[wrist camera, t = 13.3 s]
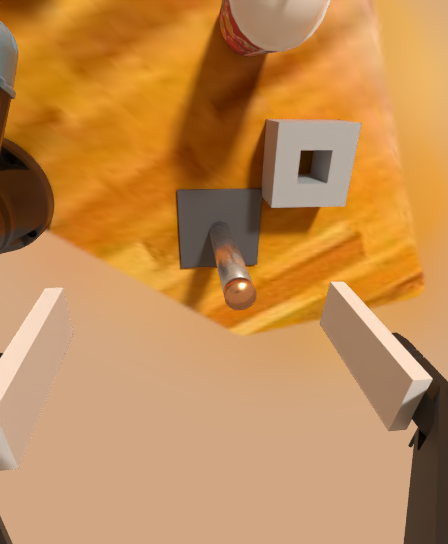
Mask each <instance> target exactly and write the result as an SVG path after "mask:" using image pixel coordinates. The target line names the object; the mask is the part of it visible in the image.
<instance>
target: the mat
mask: <svg viewBox="0 0 448 544" xmlns="http://www.w3.org/2000/svg"><path fill="white" fill-rule="evenodd" d="M177 196H178V215H179V233H180V252H181V268H189V267H212V266H217V264H216V259H215V255H214V251H213V247H212V243H211V238H210V234H209V230H210V227H211V225H212V224H214V223H215V222H218V221H222V222H225V223H227V224H228V225H229V227H230V229H231V232H232V234H233V236H234V239H235V241H236V244H237V246H238V249H239V251H240V254H241V256H242V259H243V261H244V263H245V265H257V256H258V243H259V229H260V215H261V202H262V189H261V188H258V189H194V190H177Z"/></svg>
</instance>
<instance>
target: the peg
mask: <svg viewBox="0 0 448 544" xmlns="http://www.w3.org/2000/svg"><path fill="white" fill-rule="evenodd" d="M209 234H210V238H211V243H212V247H213V251H214V255H215V259H216V264H217V268H218V272H219V276H220V280H221V285H222V289H223V293H224V297H225V301H226V304H227V305H228V306H229V307H230V308H232V309H235V310H244V309H247V308H249V307H250V306H251V305H252V304H253V303H254V302H255V300H256V291H255V288H254V286H253V283H252V281H251V278H250V276H249V273H248V271H247V268H246V266H245V263H244V261H243V259H242V256H241V254H240V251H239V249H238V246H237V244H236V241H235V239H234V236H233V234H232V232H231V229H230V227H229V225H228V224H227V223H225V222H222V221H218V222H215V223H214V224H212V225H211V227H210V230H209Z"/></svg>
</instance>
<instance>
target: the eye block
mask: <svg viewBox="0 0 448 544" xmlns="http://www.w3.org/2000/svg"><path fill="white" fill-rule="evenodd" d="M361 124H362V123H357V122H350V121H343V120H296V119H266V132H265V146H264V160H263V174H262V188H261V189H262V197H263V198H264V200H265V201H266V202H267V203H268V204H269V206H270V207H271V208H286V207H330V206H345V203H346V198H347V193H348V188H349V183H350V178H351V173H352V169H353V164H354V159H355V154H356V149H357V144H358V139H359V134H360V129H361ZM301 150H314V151H313V158H312V165H311V172H310V174H298V170H299V162H300V154H301Z"/></svg>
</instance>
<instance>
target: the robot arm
mask: <svg viewBox="0 0 448 544" xmlns="http://www.w3.org/2000/svg"><path fill="white" fill-rule="evenodd" d="M17 61H18V47H17V44H16V41H15V39H14V37H13V35H12V33H11V32H10V31H9V29H8V28H7V27H6V26H5V25H4V24H3V23H2V22H1V21H0V254H1V253H6V252H10V251H14V250H18V249H21V248H23V247H25V246H27V245H29V244H30V243H32V242H33V241H34V240H36V239H37V238H38V237H39V236H40V235H41V234H42V233H43V232H44V231H45V229H46V228H47V227H48V225H49V223H50V221H51V218H52V215H53V209H54V199H53V193H52V189H51V186H50V183H49V181H48V179H47V177H46V175H45V173H44V172H43V170H42V169H41V167H40V166H39V165H38V164H37V162H36V161H35V160H34V159H33V158H32V157H31V156H30V155H29V154H28V153H27V152H26V151H24V150H23V149H22V148H21V147H19V146H18V145H16V144H15V143H13V142H11V141H9V140H8V139H6V138H3V136H4V132H5V127H6V122H7V117H8V112H9V107H10V102H11V98H12V99H15V95H16V93H15V91H14V89H13V88H14V81H15V75H16V68H17ZM320 325H321V327H322V328H323V330H324V331H325V333H326V335H327V336H328V338H329V339H330V341H331V342H332V344H333V345H334V347H335V348H336V350H337V352H338V353H339V355H340V356H341V358H342V359H343V361H344V362H345V364H346V366H347V367H348V369H349V370H350V372H351V374H352V375H353V377H354V378H355V380H356V381H357V383H358V384H359V386H360V388H361V389H362V391H363V392H364V394H365V395H366V397H367V398H368V400H369V401H370V403H371V405H372V406H373V408H374V409H375V411H376V413H377V414H378V416H379V417H380V419H381V420H382V422H383V423H384V425H385V427H386V428H387V430H388V431H396V430H405V429H407V427H408V425H409V424H410V422H411V420H413V421H414V422H415V424H416V425H417V426H418V428H417V430H416V432H415V434H414V436H413V438H412V440H411V442H410V444H409V447H412V446H413V444H414V449H413V459H412V469H411V478H410V488H409V498H408V508H407V517H406V527H405V537H404V544H448V382H447V380H446V379H445V378H444V377H443V376H442V375H441V374H440V373H439V372H438V371H437V370H436V369H435V368H434V367H433V366H432V365H431V364H430V363H429V361H428V360H427V359H425V358H423V355H422V354H421V353H420V352H419V351H418V350H416V348H415V347H414V346H413V345H412V344H411V343H410V342H409V341H408V340H407V339H406V338H404V337H403V336H401V335H399V334H398V333H391V332H390V331H389V330H388V329H387V328H386V327H385V326H384V325H383V324H382V323H381V322H380V320H379V319H377V317H376V316H375V315H374V314H373V313H372V312H371V311H370V309H369V308H368V307H367V306H366V305H365V304H364V303H363V302H362V301H361V300H360V299H359V297H358V296H357V295H356V294H355V293H354V292H353V291H352V290H351V289H350V288H349V286H348V285H347V284H346V283H345V282H330V286H329V289H328V293H327V297H326V301H325V305H324V309H323V313H322V317H321V321H320ZM72 337H73V331H72V326H71V321H70V316H69V312H68V307H67V302H66V298H65V293H64V288H45V290H44V291H43V293H42V295H41V296H40V298H39V299H38V301H37V302H36V304H35V305H34V307H33V308H32V310H31V312H30V313H29V315H28V316H27V318H26V319H25V321H24V323H23V324H22V325H21V327H20V329H19V330H18V332H17V333H16V335H15V337H14V338H13V340H12V341H11V343H10V344H9V346H8V347H7V349H6V350H5V352H4V353H0V471H1V470H11V469H19V467H20V464H21V462H22V459H23V457H24V455H25V452H26V450H27V447H28V445H29V442H30V440H31V437H32V435H33V432H34V430H35V428H36V425H37V423H38V420H39V418H40V415H41V413H42V410H43V408H44V405H45V403H46V400H47V398H48V396H49V393H50V391H51V388H52V386H53V383H54V381H55V378H56V376H57V373H58V371H59V369H60V366H61V364H62V361H63V358H64V356H65V354H66V351H67V349H68V346H69V344H70V342H71V339H72ZM0 544H12V542H11V539H10V537H9V535H8V533H7V530H6V528H5V526H4V524H3V521H2V519H1V517H0Z"/></svg>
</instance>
